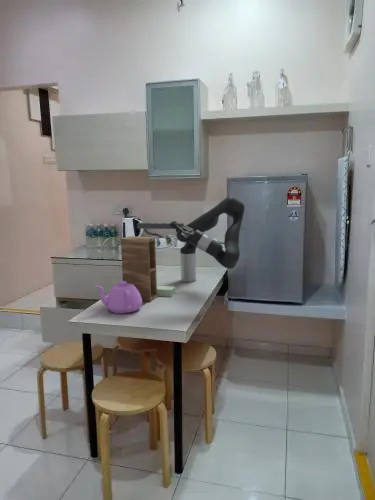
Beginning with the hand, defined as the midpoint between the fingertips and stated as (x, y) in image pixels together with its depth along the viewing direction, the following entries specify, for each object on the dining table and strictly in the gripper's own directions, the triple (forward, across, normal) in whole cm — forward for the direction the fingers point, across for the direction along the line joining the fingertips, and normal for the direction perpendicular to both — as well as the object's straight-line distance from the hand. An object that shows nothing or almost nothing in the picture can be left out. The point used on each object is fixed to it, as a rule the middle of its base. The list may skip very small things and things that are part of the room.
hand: (172, 223), depth 191 cm
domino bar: (+4, 0, +6) cm, 7 cm away
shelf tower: (-3, 0, +44) cm, 44 cm away
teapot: (-2, +20, +45) cm, 49 cm away
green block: (-9, -10, +41) cm, 43 cm away
